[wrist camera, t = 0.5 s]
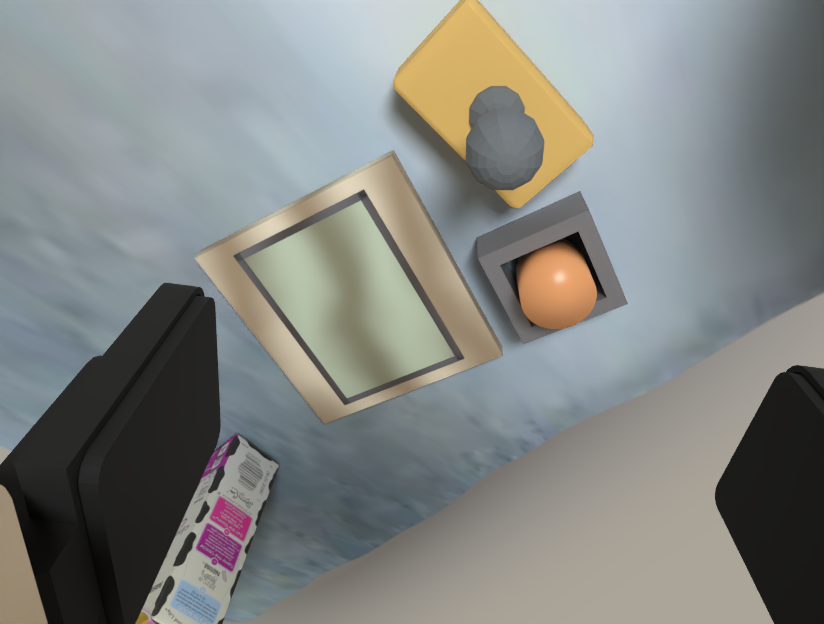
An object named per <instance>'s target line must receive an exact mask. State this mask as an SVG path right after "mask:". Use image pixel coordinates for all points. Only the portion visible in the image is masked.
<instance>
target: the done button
mask: <svg viewBox="0 0 824 624" xmlns="http://www.w3.org/2000/svg"><path fill="white" fill-rule="evenodd" d="M516 279H517V284H518V290H519V296H520V302H521V307H522V310H523V312H524V314H525V315H526V316H527V318H528V319H529V320H530V321H531V322H533V323H534V324H536V325H538V326H540V327H543V328H547V329H563V328H568V327H571V326H573V325H576V324H577V323H579V322H581V321H582V320H583V319H585V318H586V317H587V316H588V315H589V314H590V312H591V311H592V309H593V307H594V305H595V302H596V298H597V290H596V286H595V283H594V281H593V278H592V276H591V273H590V270H589V268H588V265H587V263H586V260H585V258H584V256H583V254H582V252H581V251H580V249H579V248H578V247H577V246H575V245H574V244H572V243H570V242H568V241H566V240H562V239H559V240H557V241H555V242H553V243H550V244H548V245H546V246H543V247H541V248H539V249H536V250H534V251H532V252H529V253H527V254H525V255H522V256H520V258H519V260H518V262H517V266H516Z"/></svg>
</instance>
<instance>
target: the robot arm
mask: <svg viewBox="0 0 824 624" xmlns="http://www.w3.org/2000/svg"><path fill="white" fill-rule="evenodd" d="M219 433H220V400H219V378H218V356H217V334H216V312H215V302H214V299H213V298H211V297H204V292H203V289H202V288H201V287H195V286H187V285H180V284H172V283H163V284H162V285H161V286H160V287H159V288H158V290H157V291H156V292H155V293H154V294H153V296H152V297H151V298H150V299H149V300H148V302H147V303H146V304H145V305H144V307H143V308H142V309H141V310H140V311H139V313H138V314H137V315H136V316H135V317H134V319H133V320H132V321H131V322H130V323H129V325H128V326H127V327H126V328H125V329H124V331H123V332H122V333H121V334H120V335H119V337H118V338H117V339H116V340H115V341H114V343H113V344H112V345H111V346H110V347H109V349H108V350H107V351H106V352H105V354H104V355H103V356H97V357H94V358H92V359H91V360H90V361H89V362H88V363H87V364H86V365H85V366H84V367H83V368H82V370H81V371H80V372H79V373H78V374H77V376H76V377H75V378H74V379H73V380H72V381H71V383H70V384H69V385H68V386H67V387H66V388H65V390H64V391H63V392H62V393H61V394H60V395H59V397H58V398H57V399H56V400H55V401H54V402H53V404H52V405H51V406H50V407H49V408H48V410H47V411H46V412H45V413H44V414H43V415H42V417H41V418H40V419H39V420H38V421H37V422H36V424H35V425H34V426H33V427H32V428H31V429H30V431H29V432H28V433H27V434H26V435H25V437H24V438H23V439H22V440H21V441H20V442H19V444H18V445H17V446H16V447H15V448H14V449H13V451H12V452H11V453H10V454H9V455H8V456H7V458H6V459H5V460H4V461H3V462H2V464H1V465H0V624H135V623H136V621H137V619H138V617H139V615H140V613H141V611H142V608H143V606H144V604H145V602H146V600H147V597H148V595H149V593H150V591H151V589H152V586H153V584H154V582H155V580H156V578H157V575H158V573H159V571H160V569H161V566H162V564H163V562H164V560H165V558H166V555H167V553H168V551H169V549H170V547H171V544H172V542H173V540H174V538H175V536H176V533H177V531H178V529H179V527H180V524H181V522H182V520H183V518H184V516H185V513H186V511H187V509H188V507H189V505H190V502H191V500H192V498H193V496H194V494H195V491H196V489H197V487H198V485H199V482H200V480H201V478H202V476H203V474H204V471H205V469H206V467H207V465H208V463H209V460H210V458H211V456H212V454H213V452H214V449H215V447H216V445H217V442H218V438H219ZM715 500H716V505H717V508H718V510H719V512H720V514H721V516H722V518H723V520H724V522H725V524H726V526H727V528H728V530H729V533H730V534H731V537H732V538H733V541H734V543H735V545H736V547H737V549H738V551H739V553H740V555H741V557H742V559H743V561H744V563H745V565H746V567H747V569H748V571H749V573H750V575H751V577H752V579H753V581H754V583H755V585H756V587H757V590H758V592H759V593H760V596H761V597H762V600H763V602H764V603H765V606H766V608H767V610H768V612H769V614H770V616H771V618H772V620H773V622H774V624H824V369H822V368H815V367H807V366H799V365H796V366H792V367H791V368H789V369H788V370H787V371H786V372H783V373H780V374H779V375H777V376H776V378H775V379H774V381H773V383H772V385H771V387H770V388H769V390H768V392H767V394H766V396H765V398H764V399H763V401H762V403H761V405H760V407H759V409H758V410H757V412H756V414H755V416H754V418H753V420H752V421H751V423H750V425H749V427H748V429H747V431H746V432H745V434H744V436H743V438H742V440H741V442H740V444H739V446H738V447H737V449H736V451H735V453H734V455H733V456H732V458H731V460H730V462H729V464H728V466H727V468H726V469H725V471H724V473H723V475H722V477H721V479H720V480H719V482H718V484H717V487H716V492H715Z"/></svg>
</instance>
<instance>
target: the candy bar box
mask: <svg viewBox="0 0 824 624" xmlns="http://www.w3.org/2000/svg"><path fill="white" fill-rule="evenodd" d="M278 467H279V464H278V463H277V462H276V461H275V460H273V459H272V458H271V457H269V456H268V455H266V454H265V453H264V452H262V451H261V450H260V449H258V448H257V447H256V446H255V445H253V444H252V443H251V442H249V441H248V440H247V439H245V438H244V437H242V436H241V435H239V434H235V435H234V436H233V437H232V438H230V439H229V440H228V441H227V442H226V443H224V444H223V445H222V446H220V447H219V448H218V449H217V450H216V451H214V452H213V454H212V456H211V458H210V460H209V463H208V465H207V467H206V469H205V471H204V474H203V476H202V478H201V480H200V482H199V485H198V487H197V489H196V491H195V494H194V496H193V498H192V500H191V502H190V505H189V507H188V509H187V511H186V513H185V516H184V518H183V520H182V522H181V524H180V527H179V529H178V531H177V533H176V536H175V538H174V540H173V542H172V544H171V547H170V549H169V551H168V553H167V555H166V558H165V560H164V562H163V564H162V566H161V569H160V571H159V573H158V575H157V578H156V580H155V582H154V584H153V586H152V589H151V591H150V593H149V595H148V597H147V600H146V602H145V604H144V606H143V608H142V611H141V613H140V615H139V617H138V619H137V621H136V623H135V624H222V623H223V620H224V618H225V615H226V612H227V609H228V606H229V604H230V600H231V598H232V595H233V592H234V589H235V587H236V584H237V581H238V578H239V576H240V573H241V570H242V567H243V565H244V562H245V559H246V556H247V553H248V550H249V547H250V544H251V542H252V539H253V536H254V534H255V531H256V529H257V525H258V522H259V519H260V517H261V514H262V511H263V508H264V506H265V503H266V500H267V498H268V495H269V492H270V489H271V486H272V484H273V481H274V478H275V475H276V472H277V469H278Z"/></svg>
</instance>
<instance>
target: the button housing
mask: <svg viewBox="0 0 824 624" xmlns="http://www.w3.org/2000/svg"><path fill="white" fill-rule="evenodd" d="M576 232H579V234H580V236H581V239H582V241H583V243H584V246H585V248H586V250H587V253H588V255H589V257H590V259H591V262H592V264H593V266H594V269H595V271H596V273H597V275H596V276H593V277H592V278H593V281H594V283H595V286H596V290H597V298H596V302H595V305H594V307H593V309H592V311H591V312H590V314H589V315H588V316H587V317H586V318H585V319H583V320H582V321H585V320H587V319H590V318H592V317H595V316H598V315H600V314H603V313H605V312H608V311H611V310H613V309H616V308H618V307H621V306H624V305H626V304H628V303H627V301H626V298H625V296H624V293H623V291H622V288H621V286H620V284H619V281H618V279H617V276H616V274H615V272H614V269H613V267H612V264H611V262H610V260H609V257H608V255H607V252H606V250H605V247H604V245H603V243H602V240H601V238H600V235H599V233H598V231H597V228H596V226H595V223H594V221H593V218H592V216H591V214H590V211H589V209H588V207H587V205H586V203H585V201H584V199H583V196H582V194H581V192H580V191H579V192H577V193H575V194H573V195H570V196H568V197H566V198H564V199H562V200H559V201H557V202H555V203H553V204H551V205H548V206H546V207H544V208H542V209H539V210H537V211H535V212H533V213H531V214H528V215H526V216H524V217H522V218H520V219H517V220H515V221H513V222H511V223H508V224H506V225H504V226H502V227H500V228H497V229H495V230H493V231H491V232H489V233H486V234H484V235H482V236H480V237H477V253H478V260H479V262H480V264H481V266H482V267H483V269H484V271H485V273H486V275H487V277H488V279H489V281H490V283H491V284H492V286H493V288H494V290H495V292H496V294H497V296H498V298H499V299H500V301H501V303H502V305H503V307H504V309H505V311H506V313H507V315H508V316H509V318H510V320H511V322H512V324H513V326H514V328H515V330H516V332H517V333H518V335H519V337H520V339H521V341H522V343H523V344H525V343H528V342H530V341H533V340H535V339H538V338H541V337H543V336H546V335H548V334H551V333H554V332H556V331H559V330H561V329H547V328H543V327H540V326H538V325H536V324H534V323H533V322H531V321H530V320H529V319H528V318H527V316H526V315H525V314H524V312H523V310H522V307H521V302H520V296H519V290H518V285H517V283H516V281H515V279H514V277H513V275H512V273H511V271H510V269H509V267H508V265H507V263H506V262H509V261H511V260H513V259H515V258H518V257H520V256H522V255H525V254H527V253H529V252H532V251H534V250H536V249H539V248H541V247H543V246H546V245H548V244H550V243H553V242H555V241H557V240H559V239H562V238H564V237H566V236H569V235H571V234H573V233H576ZM582 321H581V322H582ZM579 323H580V322H579ZM563 329H564V328H563Z"/></svg>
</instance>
